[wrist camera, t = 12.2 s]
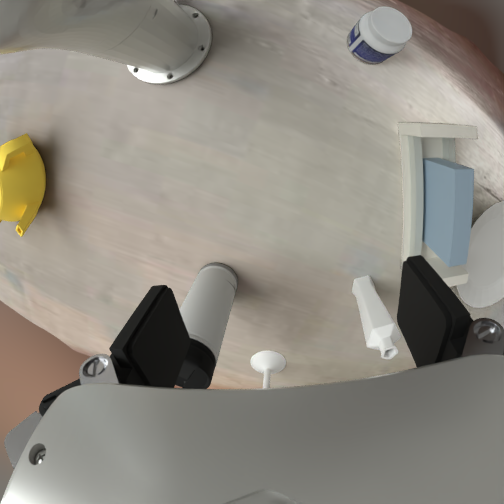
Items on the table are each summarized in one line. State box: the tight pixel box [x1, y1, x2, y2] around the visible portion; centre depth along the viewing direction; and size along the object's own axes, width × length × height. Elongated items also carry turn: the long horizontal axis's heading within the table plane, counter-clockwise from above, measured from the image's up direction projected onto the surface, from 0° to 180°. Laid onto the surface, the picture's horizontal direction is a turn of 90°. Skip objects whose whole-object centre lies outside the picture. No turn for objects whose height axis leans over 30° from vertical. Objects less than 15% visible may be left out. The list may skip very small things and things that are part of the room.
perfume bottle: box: [352, 275, 401, 359], centre depth 35 cm, size 5×4×15 cm
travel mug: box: [175, 263, 238, 389], centre depth 35 cm, size 6×7×20 cm
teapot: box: [0, 133, 46, 237], centre depth 34 cm, size 17×17×12 cm
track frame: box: [398, 123, 478, 287], centre depth 32 cm, size 22×9×7 cm, turn 10°
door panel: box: [422, 158, 474, 267], centre depth 30 cm, size 12×3×9 cm, turn 10°
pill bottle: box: [347, 6, 412, 65], centre depth 23 cm, size 6×6×10 cm
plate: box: [457, 201, 504, 308], centre depth 36 cm, size 21×21×2 cm
